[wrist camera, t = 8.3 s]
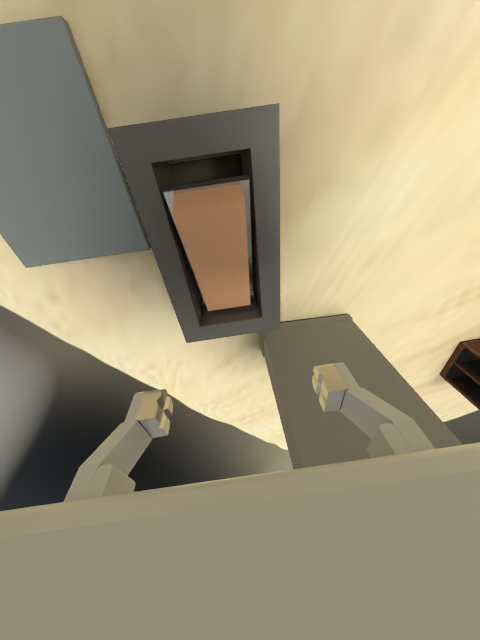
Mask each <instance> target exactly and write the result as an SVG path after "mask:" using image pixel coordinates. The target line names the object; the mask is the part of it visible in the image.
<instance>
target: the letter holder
mask: <svg viewBox="0 0 480 640" xmlns="http://www.w3.org/2000/svg"><path fill="white" fill-rule="evenodd" d="M440 375H441V376H442V377H443V378H444V379H445V380H446V381H447V382H448V383H449V384H451V385H452V386H453V387H454V388H455V389H456V390H458V391H459V392H460V393H461V394H462V395H463V396H464V397H465V398H467V399H468V400H469V401H470V402H471V403H472V404H473V405H474V406H476V407H477V408H478V409H479V410H480V339H476V340H471V341H465V342H460V344H459V345H458V347H457V348H456V350H455V352H454V353H453V355H452V356H451V358H450V359H449V361H448V362H447V364H446V366H445V367H444V369H443V370H442V372H441V373H440Z"/></svg>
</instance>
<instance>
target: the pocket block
mask: <svg viewBox="0 0 480 640" xmlns="http://www.w3.org/2000/svg"><path fill="white" fill-rule="evenodd" d="M108 130H109V133H110V136H111V138H112V141H113V144H114V146H115V149H116V152H117V155H118V157H119V160H120V163H121V166H122V168H123V171H124V174H125V176H126V179H127V182H128V185H129V187H130V190H131V193H132V196H133V198H134V201H135V204H136V206H137V209H138V212H139V215H140V217H141V220H142V223H143V225H144V228H145V231H146V234H147V236H148V239H149V242H150V245H151V247H152V250H153V253H154V255H155V258H156V261H157V264H158V266H159V269H160V272H161V275H162V277H163V280H164V283H165V285H166V288H167V291H168V294H169V296H170V299H171V302H172V304H173V307H174V310H175V313H176V315H177V318H178V321H179V324H180V326H181V329H182V332H183V334H184V337H185V340H186V343H190V342H196V341H203V340H209V339H216V338H222V337H229V336H236V335H242V334H249V333H255V332H262V331H268V330H275V329H280V167H279V103H278V104H271V105H264V106H257V107H251V108H244V109H237V110H230V111H223V112H217V113H210V114H203V115H196V116H189V117H182V118H176V119H169V120H162V121H155V122H148V123H142V124H135V125H128V126H121V127H114V128H108ZM240 153H241V158H242V169H243V175H247V174H248V177H249V185H250V214H251V244H252V274H253V289H250V290H253V292H254V298H253V299H250V304H251V305H246V306H239V307H232V308H226V309H219V310H212V311H208V309H207V307H206V306H203V304H202V295H201V293H200V290H199V287H198V285H197V282H196V279H195V277H194V274H193V271H192V269H191V266H190V263H189V261H188V258H187V255H186V252H185V250H184V247H183V244H182V242H181V239H180V236H179V234H178V231H177V228H176V226H175V223H174V220H173V218H172V215H171V212H170V210H169V207H168V204H167V202H166V199H165V196H164V193H163V189H164V187H166V186H173V185H174V182H173V178H172V174H171V170H170V166H169V164H173V163H179V162H186V161H193V160H200V159H206V158H213V157H220V156H227V155H233V154H240Z"/></svg>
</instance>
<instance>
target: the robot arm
mask: <svg viewBox="0 0 480 640" xmlns="http://www.w3.org/2000/svg"><path fill="white" fill-rule="evenodd" d="M313 372H314V375H313V376H312V383H313V387H314V390H315V393H316V394H317V395H319V396H320V397H319V402H320V404H321V407H322V409H323V411H324V412H331V411H339V410H340V412H342V413H343V414H344V415H345V416H346V417H347V418H348V419H349V420H351V421H352V422H353V423H354V424H355V425H356V426H357V427H359V428H360V429H361V430H362V431H363V432H364V433H365V434H366V435H368V436H369V437H370V438H371V439H372V441H371V442H370V444H369V446H368V448H367V452H368V454H369V456H370V458H369V459H362V460H355V461H348V462H341V463H334V464H327V465H320V466H313V467H306V468H299V469H293V470H285V471H278V472H272V473H264V474H257V475H251V476H243V477H236V478H229V479H222V480H216V481H208V482H202V483H194V484H188V485H181V486H174V487H167V488H160V489H153V490H147V491H139V492H133V491H134V487H135V482H134V481H133V480H132V479H130V478H129V477H128V476H127V475H128V474H129V473H130V471H131V470H132V468H133V467H134V465H135V464H136V462H137V461H138V459H139V458H140V456H141V455H142V453H143V452H144V450H145V449H146V447H147V446H148V445H149V443H150V442H151V440H152V438H154V437H160V436H166V435H168V432H169V426H170V421H169V420H168V419H169V417H170V416H171V415H172V410H173V405H172V400H171V398H170V397H168V396H167V391H166V390H165V389H162V390H155V391H147V392H140V393H136V394H135V395H134V397H133V400H132V403H131V406H130V408H129V411H128V414H127V417H126V419H125V422H124V423H121V424H120V425H119V426H118V428H117V429H115V431H114V432H113V433H112V434H111V435H110V436H109V437H108V438H107V439H106V440H105V441H104V442H103V443H102V444H101V445H100V446H99V447H98V449H96V450H95V452H94V453H93V454H92V455H91V456H90V457H89V458H88V459H87V460H86V461H85V462H84V463H83V464H82V465H81V466H80V467H79V470H78V472H77V474H76V476H75V479H74V480H73V483H72V485H71V487H70V489H69V491H68V493H67V496H66V498H65V500H64V502H62V503H56V504H48V505H41V506H34V507H28V508H21V509H15V510H7V511H0V640H480V443H474V444H467V445H460V446H453V447H446V448H439V449H435V447H434V446H433V445H432V443H431V442H430V441H429V440H428V438H427V437H426V436H425V434H424V433H423V432H422V430H421V429H420V428H419V426H418V425H417V424H416V422H415V421H414V420H413V419H412V418H411V417H409V416H407V415H406V414H404V413H403V412H401V411H399V410H398V409H396V408H395V407H393V406H391V405H390V404H388V403H387V402H385V401H383V400H382V399H380V398H379V397H377V396H376V395H374V394H372V393H371V392H369V391H368V390H366V389H364V388H360V387H359V386H358V384H357V382H356V381H355V379H354V378H353V376H352V375H351V373H350V371H349V370H348V368H347V367H346V365H345V364H344V363H343V362H341V363H334V364H326V365H320V366H315V367H314V368H313Z"/></svg>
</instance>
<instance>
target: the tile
mask: <svg viewBox="0 0 480 640" xmlns="http://www.w3.org/2000/svg"><path fill="white" fill-rule="evenodd" d="M172 214H173V217H174V219H175V222H176V225H177V227H178V230H179V233H180V236H181V238H182V241H183V244H184V247H185V249H186V252H187V255H188V257H189V260H190V263H191V266H192V268H193V271H194V274H195V277H196V279H197V282H198V285H199V287H200V290H201V293H202V296H203V298H204V301H205V304H206V307H207V309H208V311H212V310H219V309H226V308H232V307H239V306H246V305H251V304H250V285H249V267H248V249H247V230H246V212H245V201H244V197H243V193H242V189H241V185H240V184H237V185H231V186H224V187H217V188H210V189H204V190H197V191H190V192H183V193H177V194H174V196H173V211H172Z"/></svg>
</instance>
